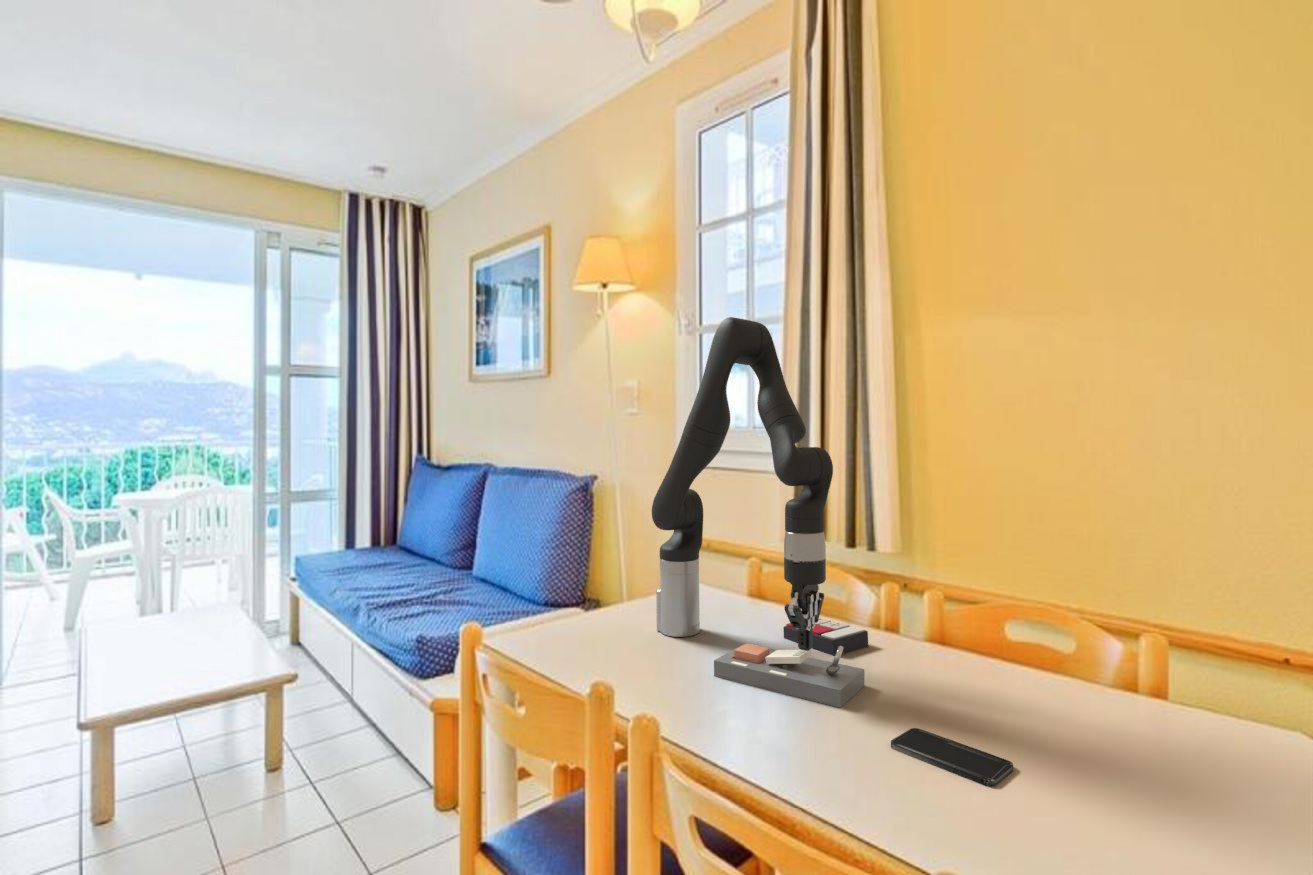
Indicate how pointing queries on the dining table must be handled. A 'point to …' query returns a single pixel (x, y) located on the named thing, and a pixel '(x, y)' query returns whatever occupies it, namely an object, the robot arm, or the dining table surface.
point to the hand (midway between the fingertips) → (805, 648)
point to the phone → (953, 756)
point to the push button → (751, 653)
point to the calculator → (832, 636)
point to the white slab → (788, 657)
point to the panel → (795, 678)
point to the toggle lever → (835, 663)
